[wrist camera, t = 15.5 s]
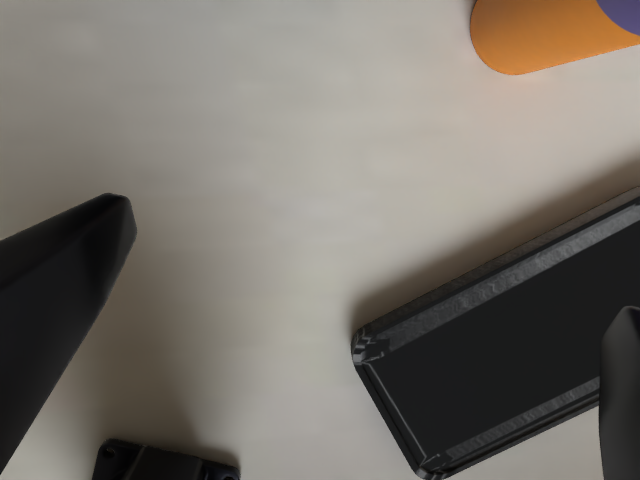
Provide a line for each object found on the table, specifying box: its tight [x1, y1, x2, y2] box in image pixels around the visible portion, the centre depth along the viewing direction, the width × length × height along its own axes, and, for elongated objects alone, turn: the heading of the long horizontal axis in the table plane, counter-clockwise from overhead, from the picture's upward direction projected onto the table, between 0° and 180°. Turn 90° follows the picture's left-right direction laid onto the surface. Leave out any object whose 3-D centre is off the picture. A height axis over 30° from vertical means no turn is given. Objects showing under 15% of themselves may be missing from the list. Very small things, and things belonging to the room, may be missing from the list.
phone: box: [351, 186, 640, 480], centre depth 23 cm, size 8×1×15 cm
